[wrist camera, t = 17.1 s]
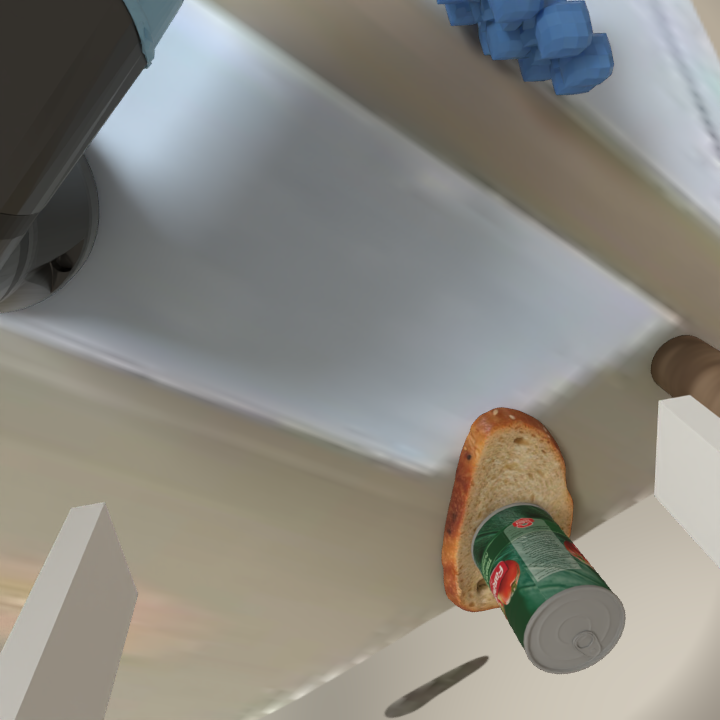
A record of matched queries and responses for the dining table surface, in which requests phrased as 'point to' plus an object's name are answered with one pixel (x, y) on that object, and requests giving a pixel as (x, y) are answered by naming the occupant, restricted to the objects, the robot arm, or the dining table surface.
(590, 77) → the grapes
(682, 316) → the dining table surface
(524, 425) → the bread slice
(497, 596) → the canned tomato
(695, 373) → the walnut pepper mill
